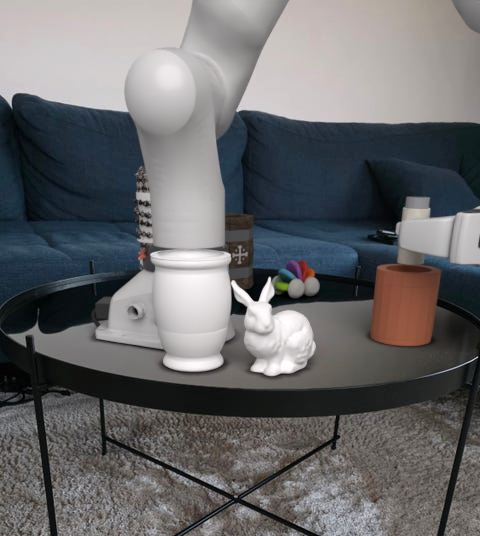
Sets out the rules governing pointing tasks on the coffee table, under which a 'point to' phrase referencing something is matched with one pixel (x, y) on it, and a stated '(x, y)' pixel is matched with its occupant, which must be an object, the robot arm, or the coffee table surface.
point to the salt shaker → (412, 210)
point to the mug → (240, 248)
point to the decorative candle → (143, 211)
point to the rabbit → (275, 334)
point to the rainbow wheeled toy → (296, 280)
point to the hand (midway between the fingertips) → (409, 227)
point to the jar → (191, 306)
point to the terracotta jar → (404, 304)
